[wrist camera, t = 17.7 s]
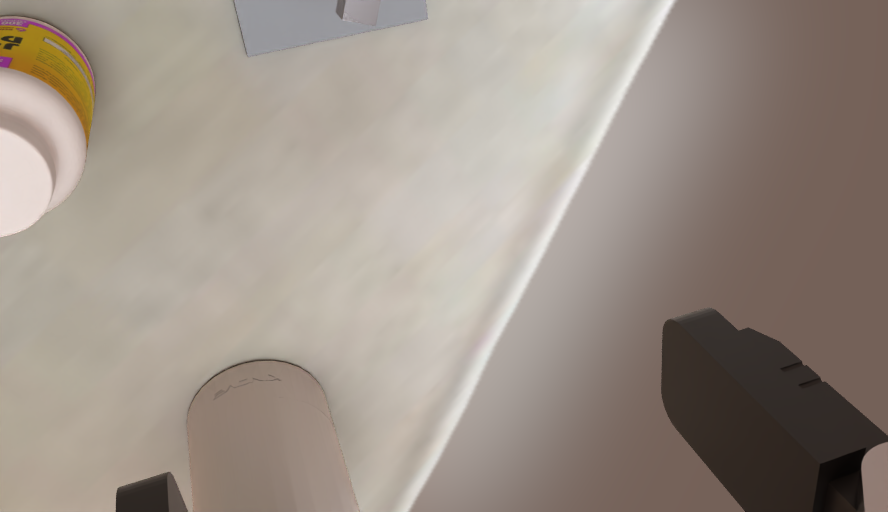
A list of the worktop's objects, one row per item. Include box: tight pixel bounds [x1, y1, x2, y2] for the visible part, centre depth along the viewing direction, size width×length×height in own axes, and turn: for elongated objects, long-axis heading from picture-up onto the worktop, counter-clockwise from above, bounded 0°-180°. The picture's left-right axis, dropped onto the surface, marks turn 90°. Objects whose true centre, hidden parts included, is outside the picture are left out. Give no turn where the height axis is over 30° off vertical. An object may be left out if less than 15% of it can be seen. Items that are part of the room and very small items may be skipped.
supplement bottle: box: [0, 16, 95, 237], centre depth 37 cm, size 7×7×13 cm
